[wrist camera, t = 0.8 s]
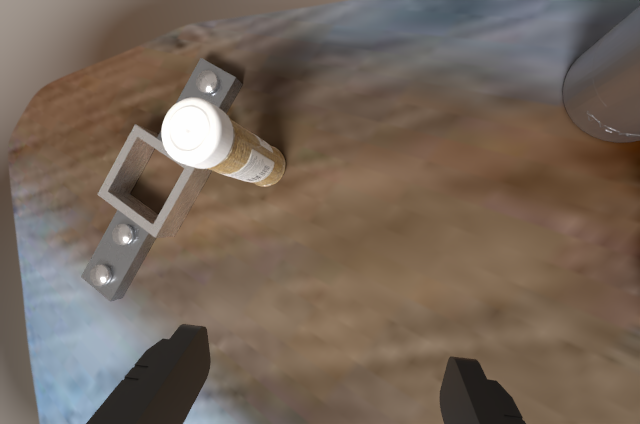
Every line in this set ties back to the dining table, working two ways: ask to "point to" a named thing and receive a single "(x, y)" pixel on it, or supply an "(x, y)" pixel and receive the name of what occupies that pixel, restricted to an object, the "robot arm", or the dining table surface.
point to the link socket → (129, 172)
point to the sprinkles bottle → (219, 143)
